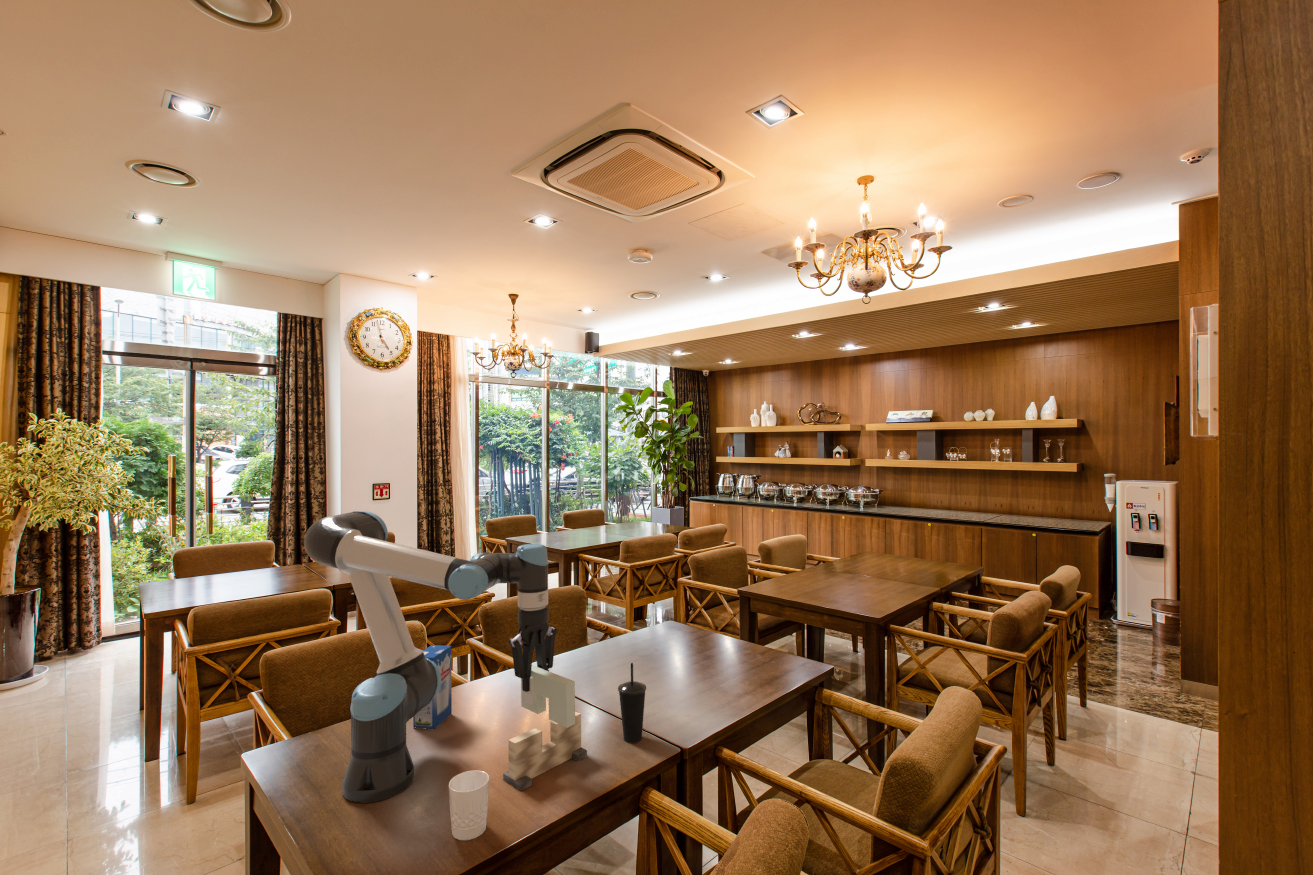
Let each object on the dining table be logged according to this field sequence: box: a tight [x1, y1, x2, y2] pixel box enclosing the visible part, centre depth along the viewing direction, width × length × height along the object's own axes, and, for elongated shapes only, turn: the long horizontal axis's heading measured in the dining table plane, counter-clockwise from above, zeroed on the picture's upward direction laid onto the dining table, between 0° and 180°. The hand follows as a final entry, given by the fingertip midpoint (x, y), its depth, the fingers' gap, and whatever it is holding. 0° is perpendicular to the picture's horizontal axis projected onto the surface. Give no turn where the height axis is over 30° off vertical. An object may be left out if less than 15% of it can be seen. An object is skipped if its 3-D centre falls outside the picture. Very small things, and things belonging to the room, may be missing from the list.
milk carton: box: [412, 644, 453, 730], centre depth 169 cm, size 10×6×20 cm, turn 171°
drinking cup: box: [617, 662, 647, 744], centre depth 157 cm, size 8×8×20 cm
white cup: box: [448, 769, 490, 841], centre depth 120 cm, size 8×8×10 cm
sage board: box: [520, 664, 576, 728], centre depth 143 cm, size 18×2×10 cm, turn 48°
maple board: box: [502, 710, 588, 792], centre depth 143 cm, size 20×7×10 cm, turn 138°
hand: (534, 700), depth 147 cm, fingers closed on sage board, 2 cm apart
